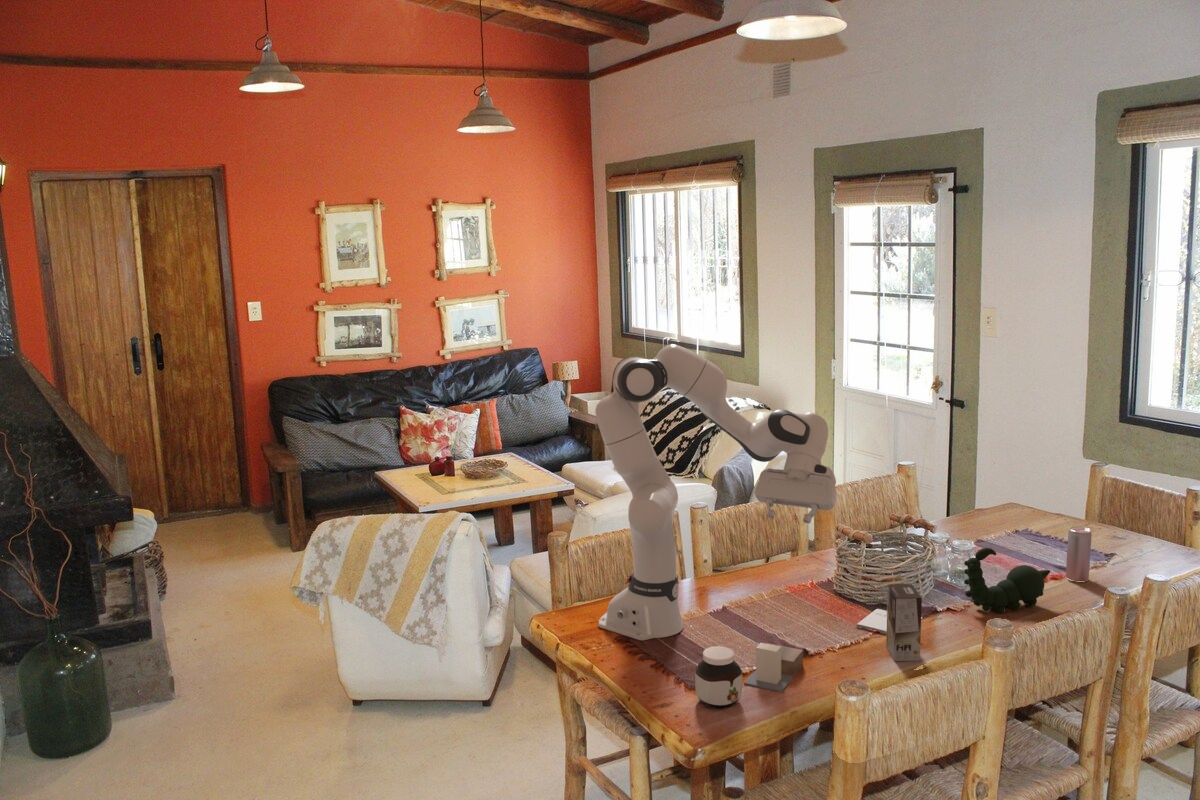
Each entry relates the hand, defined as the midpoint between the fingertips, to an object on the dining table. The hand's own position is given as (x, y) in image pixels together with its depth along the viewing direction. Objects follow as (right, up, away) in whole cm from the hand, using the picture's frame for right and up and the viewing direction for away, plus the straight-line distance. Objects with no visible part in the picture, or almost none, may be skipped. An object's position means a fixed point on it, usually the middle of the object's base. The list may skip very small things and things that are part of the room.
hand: (788, 519), depth 253 cm
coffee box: (+27, -32, -4) cm, 42 cm away
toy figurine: (+63, -26, +20) cm, 71 cm away
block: (-8, -35, -17) cm, 40 cm away
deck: (-4, -34, -10) cm, 36 cm away
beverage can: (+90, -22, +38) cm, 100 cm away
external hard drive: (+27, -29, +13) cm, 42 cm away
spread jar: (-20, -37, -23) cm, 48 cm away
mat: (-8, -35, -17) cm, 40 cm away
